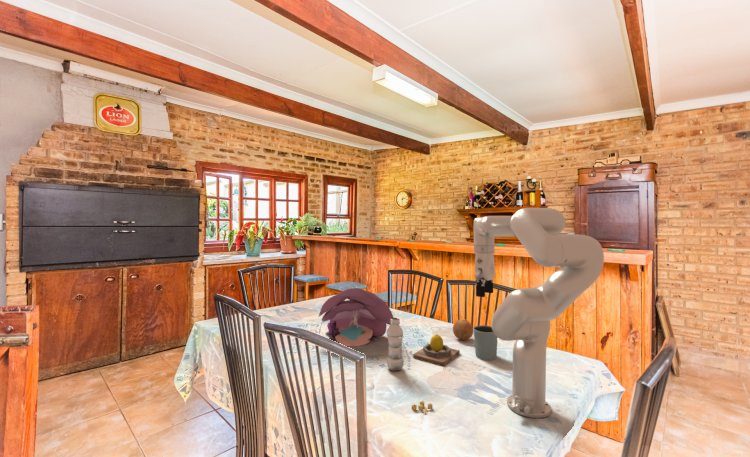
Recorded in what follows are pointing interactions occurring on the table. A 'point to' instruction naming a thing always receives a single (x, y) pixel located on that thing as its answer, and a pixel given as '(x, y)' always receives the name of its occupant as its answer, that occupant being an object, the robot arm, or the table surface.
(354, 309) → the purple shell playhouse
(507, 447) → the table surface
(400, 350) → the plastic bottle
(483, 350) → the grey cup
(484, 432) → the table surface
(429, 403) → the dice set
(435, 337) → the lemon
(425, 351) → the holder
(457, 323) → the onion
